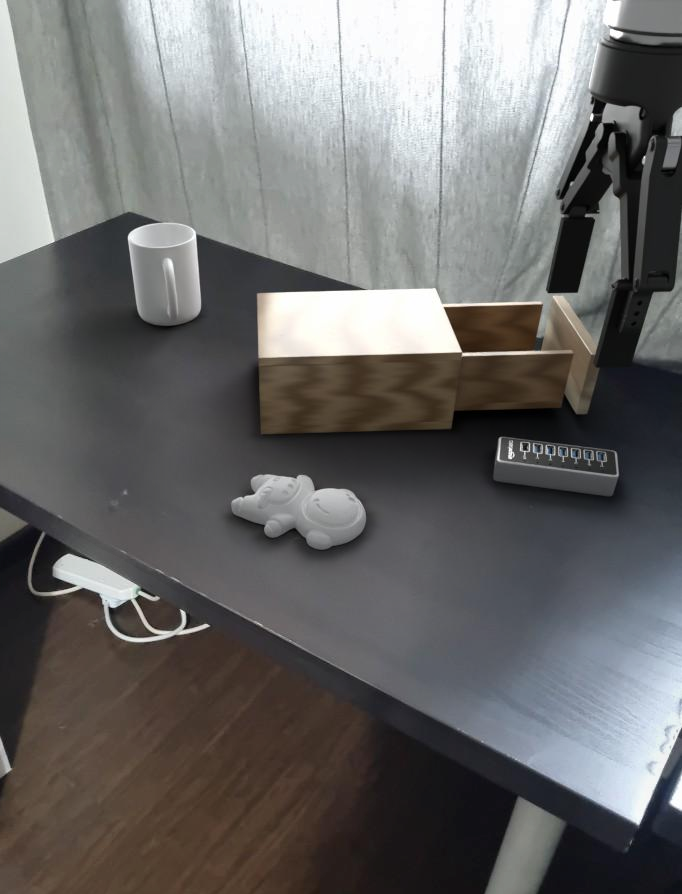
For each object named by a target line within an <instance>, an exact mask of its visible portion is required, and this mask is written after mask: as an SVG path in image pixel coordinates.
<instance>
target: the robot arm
mask: <svg viewBox="0 0 682 894" xmlns="http://www.w3.org/2000/svg"><path fill="white" fill-rule="evenodd" d="M603 23H604V24H605V26H606V27H607V28H609V29H610V31H609V32H605V33H603V35H602V37H600V38H599V39H598V40H597V45H596V50H595V55H594V60H593V64H592V68H591V73H590V78H589V83H588V91H589V93H590V97H589V99H588V103H587V108H586V111H585V116H584V120H583V122H582V124H581V127H580V130H579V132H578V134H577V137H576V139H575V141H574V144H573V147H572V150H571V152H570V154H569V156H568V159H567V162H566V164H565V167H564V169H563V172H562V174H561V177H560V179H559V181H558V184H557V186H556V190H555V194H554V196H555V198H556V200H558V201H561V202H560V205H559V211H560V214H561V215H562V216H563V217H562V216H561V217H560V222H559V226H558V229H557V231H558V232H557V235H556V239H555V243H554V244H555V245H554V250H553V254H552V259H551V264H550V267H549V273H548V277H547V282H546V287H545V291H546V293H547V294H578V293H579V290H580V287H581V281H582V278H583V273H584V270H585V269H584V268H585V266H586V260H587V257H588V252H589V248H590V243H591V240H592V236H593V231H594V228H595V223H596V219H595V218H594V216H587V215H599V214H600V213H601V211H600V210H601V209H600V202H601V200H602V198H603V197H604V196H605V194H606V193H607V191H608V190H609V188H610V187H611V186H612V194H613V196H614V197H616V198H618V200H619V233H620V234H619V236H620V237H619V238H620V278H618V279H617V280H615V281H613V283H611V284H610V287H611V295H610V298H609V301H608V306H607V309H606V313H605V317H604V320H603V324H602V328H601V331H600V335H599V338H598V343H597V350H596V354H595V357H594V361H593V364H594V365H595V367H596V368H600V369H603V368H605V369H609V368H631V367H632V364H633V361H634V357H635V354H636V351H637V347H638V344H639V340H640V338H641V333H642V331H643V327H644V325H645V322H646V321H645V320H646V317H647V314H648V311H649V307H650V304H651V300H652V297H653V295H654V293H671V292H672V291H673V290H674V289H675V286H676V278H677V269H678V267H677V266H678V256H679V246H680V238H681V237H680V235H681V226H682V225H681V224H682V135H672V132H673V131H672V130H673V122H674V115H675V113H676V112H677V111H679V110H680V109H682V0H607V3H606V7H605V10H604V15H603Z"/></svg>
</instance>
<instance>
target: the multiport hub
mask: <svg viewBox="0 0 682 894" xmlns="http://www.w3.org/2000/svg"><path fill="white" fill-rule="evenodd" d="M618 461H619V459H618V453H617V451H615V450H613V449H612V450H610V449H604V448H597V447H596V448H595V447H588V446H587V447H586V446H579V445H571V444H564V443H557V442H556V443H555V442H554V443H553V442H547V441H539V440H532V439H531V440H530V439H523V438H517V437H507V436H500V437H499V438H498V440H497V446H496V451H495V457H494V466H493V475H492V479H493V481H494V482H497V483H498V482H499V483H507V484H514V485H522V486H529V487H536V488H544V489H550V490H557V491H564V492H566V491H567V492H572V493H581V494H588V495H593V496H603V497H612V496H614V493H615V489H616V486H617V483H618V479H619V477H620V471H619V462H618Z"/></svg>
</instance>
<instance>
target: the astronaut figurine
mask: <svg viewBox="0 0 682 894" xmlns="http://www.w3.org/2000/svg"><path fill="white" fill-rule="evenodd" d="M250 485H251V486H250V487H251V490H252V491H253V492H254V494H251V495H245V496H244V497H242V496H240V497H237V498H235V499H233V500H232V501H231V503H230V507H231V512H232V514H233V515H235V516H237V517H239V518H242V519H244V520H246V521H250V522H252V523H255V524H259V525H263V526H264V529H263V532H264V535H266V537H268V538H271V539H274V538H278V537H280V536H282V535H284V534H285V533H287V532H289V531H290V530H293V529H295V530H296V531H297V532H298V533H299V534H300V535H301V536H302V537H303V538H305V540H306V544H307V545H308V546H309V547H311V548H313V549H315V550H320V551H321V550H322V551H323V550H324V551H325V550H328V549H330V548H331V547H335V546H340V545H344V544H347V543H350V542H351V541H353V540H354V539H356V538H357V537H358V536H360V535H361V534H362V532H363V531H364V529H365V527H366V524H367V523H366V522H367V515H366V514H367V513H366V509H365V507H364V505H363V503H362V502H361V501H360V499H359V498H357V495H356V494H355V493H354V492H353V491H351V490H349V489H347V488H339V489H338V488H330V487H329V488H321V489H318V490H315V486H314V485H315V484H314V483H313V480H312V478H311V477H309V476H308V475H306V474H299V475H297V476H296V478H295V477H291V476H284V475H276V474H270V473H269V474H267V473H266V474H258V475H256V476H253V477H252V478H251V479H250Z"/></svg>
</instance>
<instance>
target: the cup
mask: <svg viewBox="0 0 682 894" xmlns="http://www.w3.org/2000/svg"><path fill="white" fill-rule="evenodd" d="M127 243H128V250H129V257H130V266H131V272H132V281H133V287H134V296H135V303H136V310H137V313H138V316H139V317H140V319H142V320H143V321H144V322H146V323H148V324H151V325H155V326H161V327H171V326H179V325H182V324H183V325H184V324H186V323H190V322H191V321H193V320H194V319H196V318H197V317H198V316H199V314H200V312H201V309H202V296H201V284H200V283H201V282H200V272H199V271H200V270H199V269H200V268H199V258H198V257H199V256H198V245H197V243H198V242H197V232H196V231H195V229H193V228H192V227H191V226H189V225H185V224H183V223H176V222H156V223H149V224H145V225H142V226H139V227H136V228H134V229H132V230H131V231H130V232H129V233H128V235H127Z"/></svg>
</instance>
